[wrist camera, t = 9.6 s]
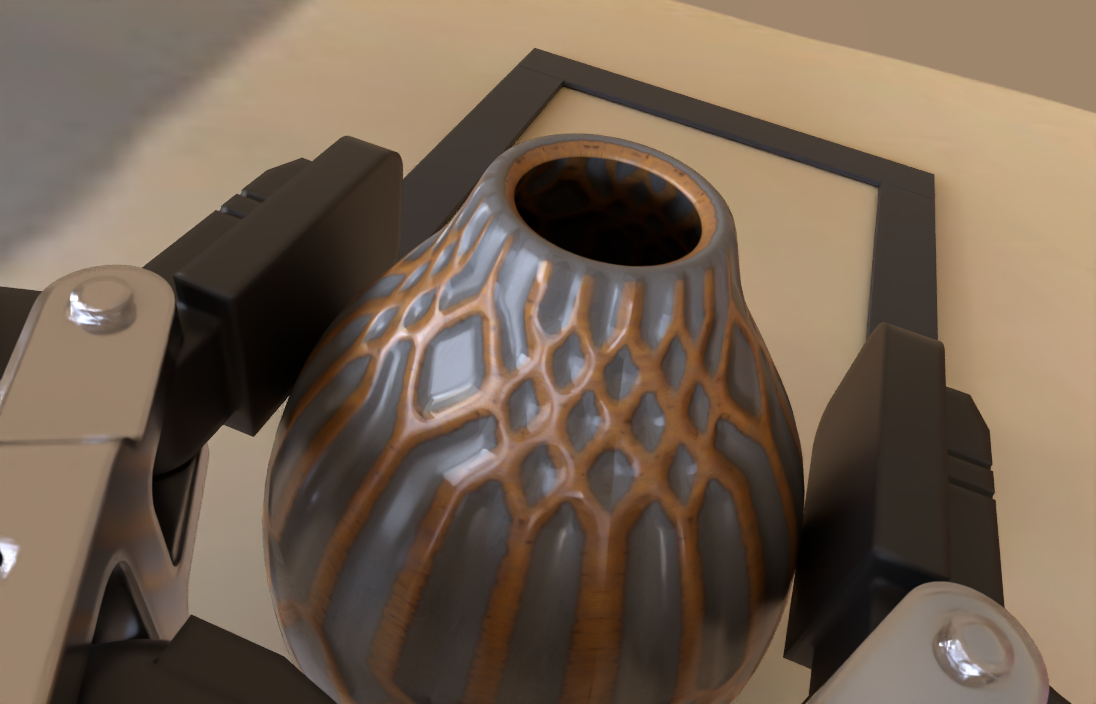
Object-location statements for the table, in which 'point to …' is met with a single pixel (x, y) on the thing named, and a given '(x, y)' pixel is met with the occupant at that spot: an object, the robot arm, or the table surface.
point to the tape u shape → (515, 102)
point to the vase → (542, 453)
